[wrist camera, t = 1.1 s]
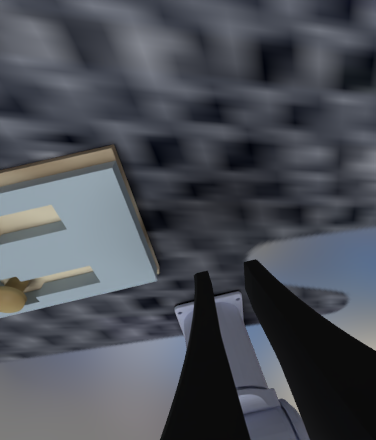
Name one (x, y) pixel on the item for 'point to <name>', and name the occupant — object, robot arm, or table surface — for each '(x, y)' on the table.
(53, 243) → the panel
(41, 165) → the board
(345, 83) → the table surface
